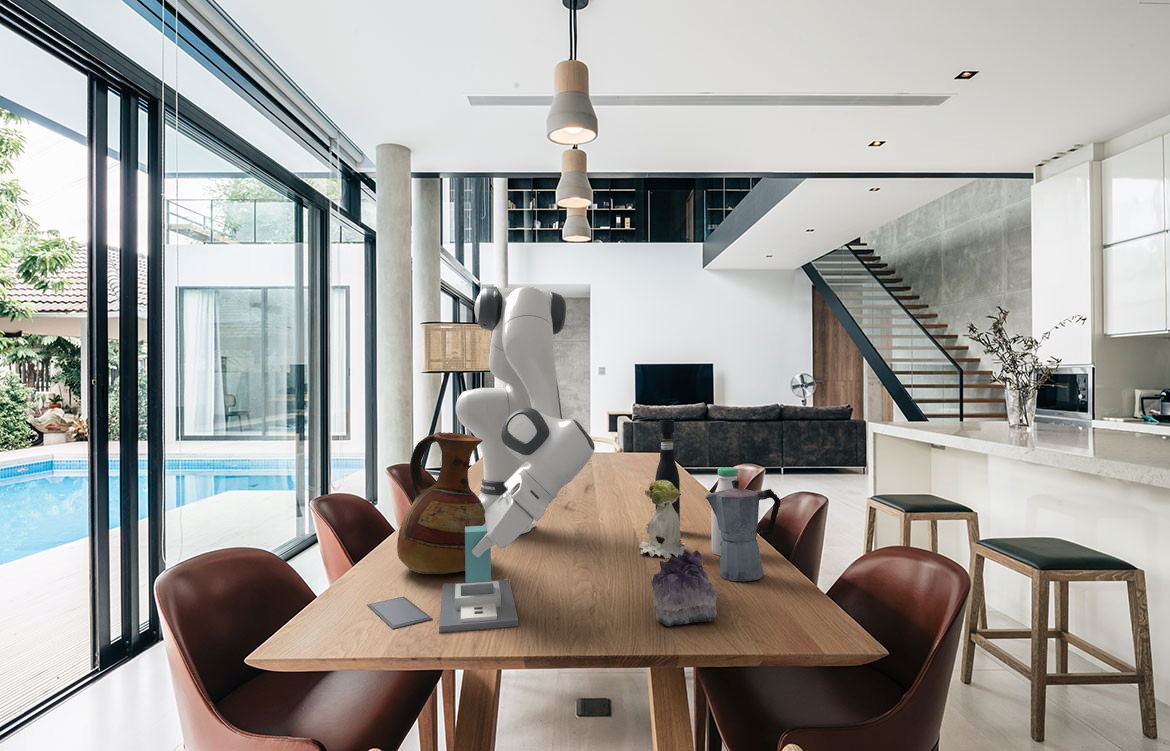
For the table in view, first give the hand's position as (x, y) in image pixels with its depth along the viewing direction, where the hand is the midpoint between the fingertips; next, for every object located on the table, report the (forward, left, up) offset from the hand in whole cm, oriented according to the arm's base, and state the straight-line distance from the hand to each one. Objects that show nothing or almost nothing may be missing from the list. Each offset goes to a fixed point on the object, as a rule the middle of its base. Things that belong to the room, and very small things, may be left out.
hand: (474, 549), depth 117 cm
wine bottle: (-22, +65, -11) cm, 69 cm away
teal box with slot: (0, +1, -5) cm, 5 cm away
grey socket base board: (0, +1, -10) cm, 10 cm away
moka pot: (+15, +54, -11) cm, 57 cm away
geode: (+22, +31, -11) cm, 39 cm away
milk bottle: (+1, +64, -11) cm, 64 cm away
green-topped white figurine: (-9, +52, -11) cm, 53 cm away
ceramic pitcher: (-25, +4, -11) cm, 27 cm away
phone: (-5, -12, -11) cm, 17 cm away
